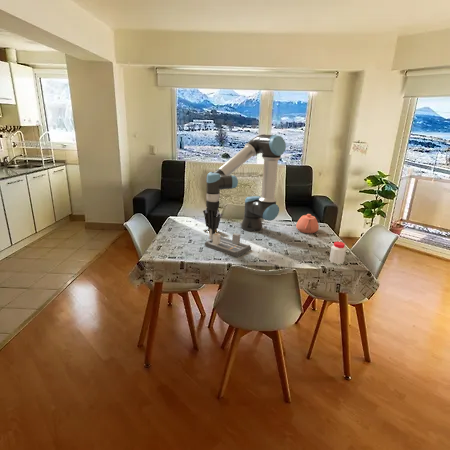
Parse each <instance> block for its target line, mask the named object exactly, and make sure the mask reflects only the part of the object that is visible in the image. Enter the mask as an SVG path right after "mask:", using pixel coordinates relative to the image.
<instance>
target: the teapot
mask: <svg viewBox="0 0 450 450" xmlns="http://www.w3.org/2000/svg"><path fill="white" fill-rule="evenodd" d="M319 226H320V225H319V223H318V220H317V218H316V217H315V216H313V215H312V214H311V213H307V214H304V215H302V216H301V217H300V218H299V219H298V220H297V223H296V226H295V227H296V230H297V231H299V232H300V233H304V234H315V233H316V232H318V231H319V228H320V227H319Z"/></svg>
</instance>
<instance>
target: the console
mask: <svg viewBox="0 0 450 450" xmlns="http://www.w3.org/2000/svg"><path fill="white" fill-rule="evenodd" d="M231 238H232V239H230V238H228V237H225V236H221V237H220V244H219V245H216V244H213V239H212V240H211V239H208V240H207V241H205V242H204V246H205V247H207V248H210V249H212V250H216V251H218V252H221V253H225V254H227V255H230V256H232V257H233V256H234V257H236V258H238V257H241V256H242V255H244V254H246V253H247V252H250V251H252V246H251V245H250V244H246V243H243V242H241V234H240V233H238V232H235V233H232V237H231Z"/></svg>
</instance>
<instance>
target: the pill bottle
mask: <svg viewBox="0 0 450 450" xmlns="http://www.w3.org/2000/svg"><path fill="white" fill-rule="evenodd" d="M345 246H346V243H344V242H342V241H334V242H333V245H331V247H330V252H329V259H328V261H329V260H330V261H331V262H334V263H343V262H344V263H345V257H346V254H347V253H346V252H347V247H345ZM331 262H330V263H331Z"/></svg>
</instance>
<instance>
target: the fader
mask: <svg viewBox="0 0 450 450" xmlns="http://www.w3.org/2000/svg"><path fill="white" fill-rule="evenodd" d="M220 237H222V235H221V234H220V232H217V233H214V234H213V244H216V245H219V244H220Z"/></svg>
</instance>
